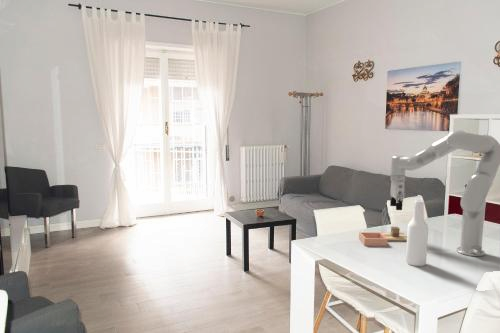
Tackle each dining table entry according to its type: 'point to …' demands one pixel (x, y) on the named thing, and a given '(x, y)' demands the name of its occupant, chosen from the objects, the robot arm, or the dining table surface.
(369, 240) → the dish
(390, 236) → the lid
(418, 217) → the alcohol
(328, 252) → the dining table surface
